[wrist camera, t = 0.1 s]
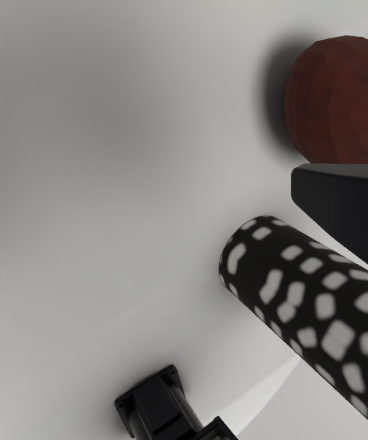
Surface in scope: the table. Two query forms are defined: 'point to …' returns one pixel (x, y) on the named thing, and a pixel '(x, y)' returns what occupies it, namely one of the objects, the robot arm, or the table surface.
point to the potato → (330, 101)
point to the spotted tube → (304, 300)
